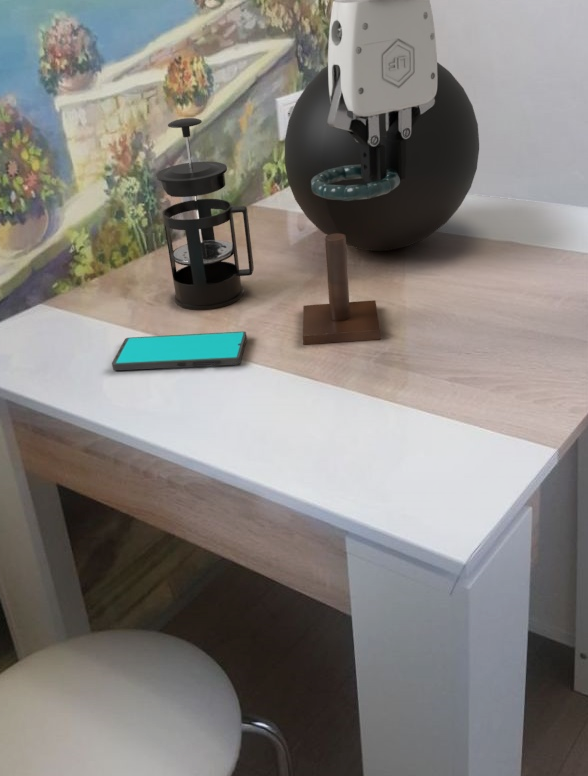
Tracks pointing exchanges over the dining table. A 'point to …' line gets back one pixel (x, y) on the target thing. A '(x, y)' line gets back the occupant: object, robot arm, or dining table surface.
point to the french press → (202, 233)
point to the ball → (422, 172)
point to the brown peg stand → (339, 305)
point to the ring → (352, 192)
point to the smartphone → (180, 351)
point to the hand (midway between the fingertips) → (384, 179)
